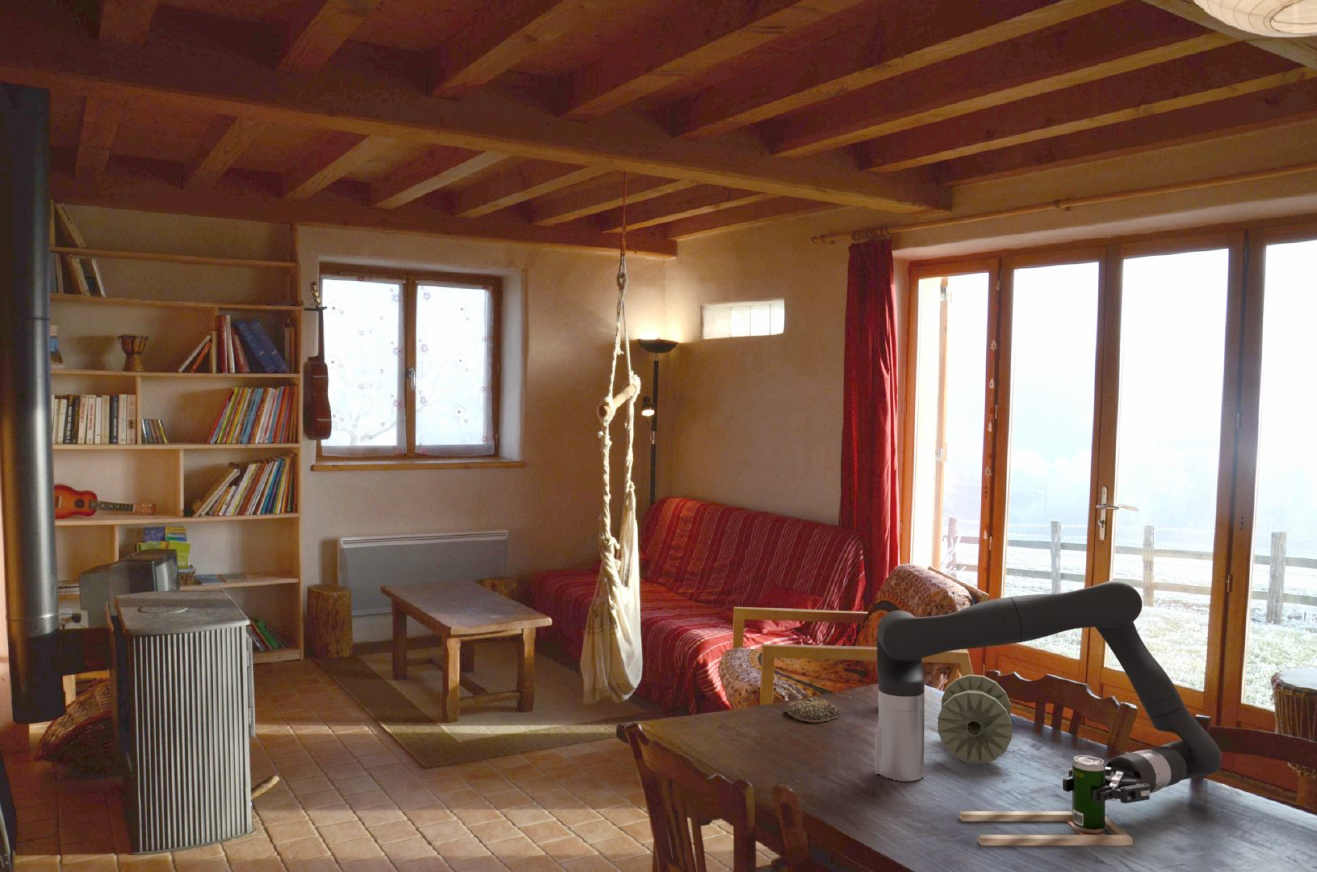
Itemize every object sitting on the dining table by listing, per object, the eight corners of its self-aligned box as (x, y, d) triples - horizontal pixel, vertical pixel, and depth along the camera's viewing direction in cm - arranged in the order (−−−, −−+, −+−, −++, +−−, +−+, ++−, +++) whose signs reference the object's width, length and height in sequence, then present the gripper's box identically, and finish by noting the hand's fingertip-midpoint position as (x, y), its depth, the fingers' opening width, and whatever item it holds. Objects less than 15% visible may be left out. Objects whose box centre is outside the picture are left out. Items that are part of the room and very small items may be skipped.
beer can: (1093, 836, 172) (1093, 767, 172) (1065, 825, 177) (1066, 758, 177) (1111, 829, 175) (1111, 761, 175) (1083, 819, 180) (1084, 753, 180)
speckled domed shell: (804, 726, 238) (804, 705, 238) (778, 712, 250) (778, 693, 250) (849, 720, 244) (849, 700, 244) (821, 707, 255) (821, 687, 255)
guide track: (981, 845, 170) (981, 838, 170) (959, 817, 182) (959, 811, 182) (1132, 845, 170) (1132, 838, 170) (1100, 817, 182) (1101, 811, 182)
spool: (1011, 767, 210) (1011, 696, 210) (937, 759, 214) (938, 689, 214) (1010, 743, 225) (1010, 677, 225) (941, 736, 230) (941, 672, 230)
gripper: (1103, 742, 189) (1044, 757, 181) (1176, 764, 177) (1116, 782, 168) (1103, 781, 190) (1044, 798, 181) (1175, 806, 177) (1116, 826, 169)
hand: (1079, 790), depth 175 cm, fingers closed on beer can, 5 cm apart
